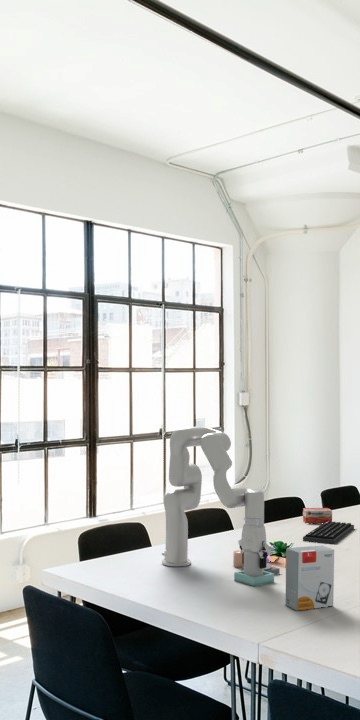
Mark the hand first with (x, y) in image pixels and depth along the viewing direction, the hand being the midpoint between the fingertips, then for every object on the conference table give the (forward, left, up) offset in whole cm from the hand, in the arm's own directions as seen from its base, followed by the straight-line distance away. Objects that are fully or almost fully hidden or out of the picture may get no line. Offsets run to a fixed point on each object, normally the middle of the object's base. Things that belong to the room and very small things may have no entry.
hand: (254, 565), depth 283 cm
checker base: (-8, +12, -6) cm, 15 cm away
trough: (0, 0, -6) cm, 6 cm away
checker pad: (-8, +12, -4) cm, 15 cm away
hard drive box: (+35, -7, -6) cm, 36 cm away
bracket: (-23, +33, -6) cm, 41 cm away
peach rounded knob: (-21, +13, -6) cm, 25 cm away
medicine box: (-69, +119, -6) cm, 138 cm away
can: (0, 0, -5) cm, 5 cm away
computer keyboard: (-43, +97, -7) cm, 106 cm away
